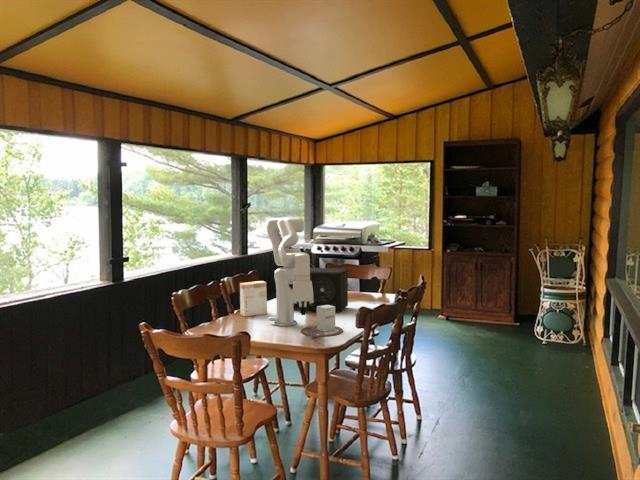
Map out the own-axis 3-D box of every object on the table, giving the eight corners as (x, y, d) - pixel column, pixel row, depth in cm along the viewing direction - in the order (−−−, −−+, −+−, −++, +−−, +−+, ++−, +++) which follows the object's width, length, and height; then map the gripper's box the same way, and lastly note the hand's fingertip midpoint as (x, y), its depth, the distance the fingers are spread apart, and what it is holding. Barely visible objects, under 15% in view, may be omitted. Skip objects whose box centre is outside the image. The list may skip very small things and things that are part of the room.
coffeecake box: (263, 311, 335) (262, 280, 334) (267, 313, 329) (266, 282, 327) (240, 314, 328) (239, 282, 327) (244, 316, 322) (243, 284, 320)
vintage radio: (282, 310, 337) (281, 271, 335) (293, 304, 356) (292, 267, 354) (340, 314, 326) (339, 272, 324) (348, 307, 344) (348, 268, 342)
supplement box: (324, 332, 283) (324, 308, 282) (316, 329, 288) (316, 306, 288) (335, 329, 287) (335, 306, 286) (327, 327, 293) (327, 304, 292)
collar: (291, 336, 273) (291, 327, 273) (308, 325, 298) (308, 316, 298) (333, 339, 266) (333, 329, 266) (347, 327, 291) (347, 318, 291)
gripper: (286, 279, 268) (287, 316, 269) (316, 279, 266) (317, 316, 267) (289, 277, 276) (290, 313, 277) (318, 277, 274) (319, 313, 275)
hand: (303, 314), depth 272 cm, fingers closed
